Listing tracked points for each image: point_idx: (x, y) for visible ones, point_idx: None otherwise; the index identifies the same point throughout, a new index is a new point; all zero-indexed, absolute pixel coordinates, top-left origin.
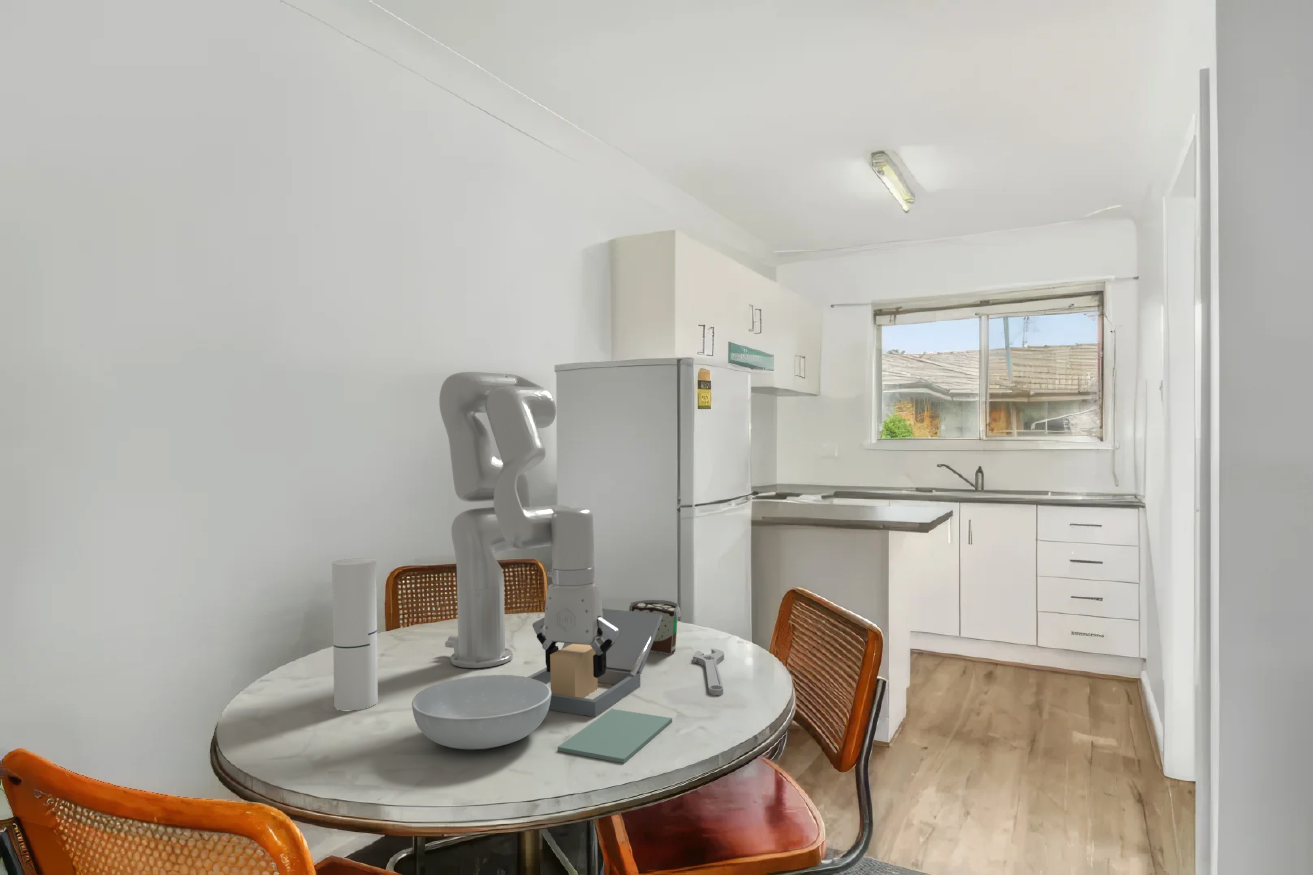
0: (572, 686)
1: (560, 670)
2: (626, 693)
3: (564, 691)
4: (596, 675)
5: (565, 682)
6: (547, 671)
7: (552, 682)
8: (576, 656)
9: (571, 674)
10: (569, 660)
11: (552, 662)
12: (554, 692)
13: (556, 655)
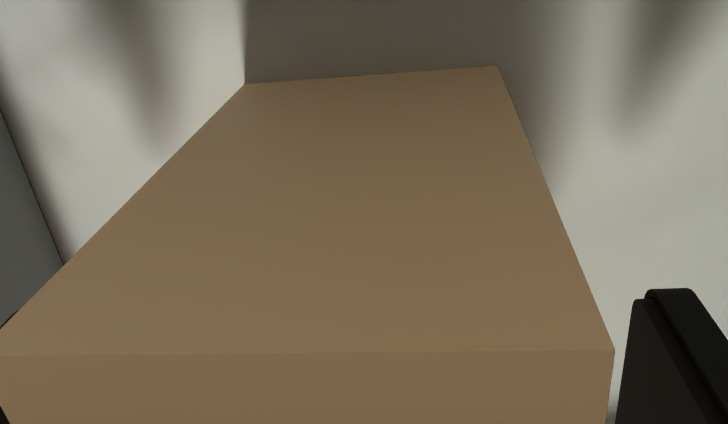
0: (225, 132)
1: (360, 197)
2: None
3: (338, 105)
4: (10, 318)
5: (307, 139)
6: (677, 288)
7: (491, 120)
8: (18, 420)
9: (190, 191)
10: (126, 305)
11: (522, 251)
12: (457, 86)
13: (427, 348)
